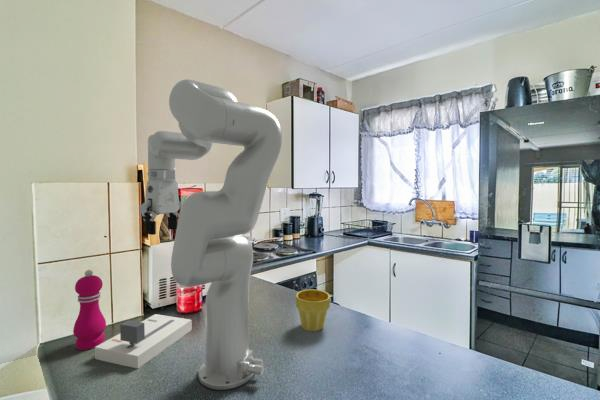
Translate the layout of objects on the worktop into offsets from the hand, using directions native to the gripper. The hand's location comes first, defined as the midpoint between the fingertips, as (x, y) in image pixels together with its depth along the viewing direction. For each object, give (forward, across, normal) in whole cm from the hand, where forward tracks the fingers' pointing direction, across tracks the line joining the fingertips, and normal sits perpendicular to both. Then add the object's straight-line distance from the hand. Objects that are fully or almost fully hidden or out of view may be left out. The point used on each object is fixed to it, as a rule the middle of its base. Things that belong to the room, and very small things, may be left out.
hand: (162, 231), depth 94 cm
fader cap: (+25, -19, -7) cm, 32 cm away
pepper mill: (+28, -17, +9) cm, 34 cm away
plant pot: (+28, +9, -46) cm, 55 cm away
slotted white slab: (+28, -12, -6) cm, 31 cm away
